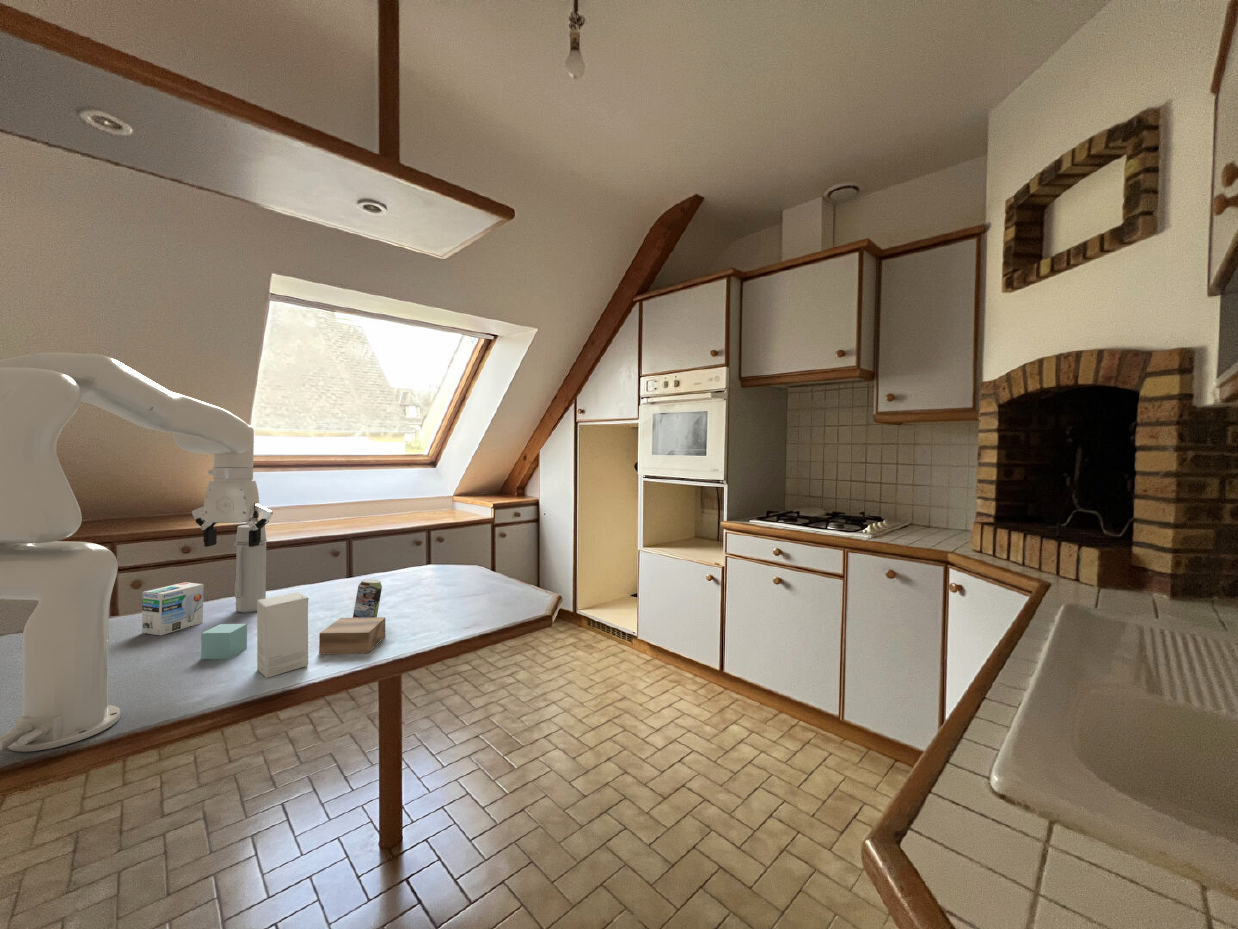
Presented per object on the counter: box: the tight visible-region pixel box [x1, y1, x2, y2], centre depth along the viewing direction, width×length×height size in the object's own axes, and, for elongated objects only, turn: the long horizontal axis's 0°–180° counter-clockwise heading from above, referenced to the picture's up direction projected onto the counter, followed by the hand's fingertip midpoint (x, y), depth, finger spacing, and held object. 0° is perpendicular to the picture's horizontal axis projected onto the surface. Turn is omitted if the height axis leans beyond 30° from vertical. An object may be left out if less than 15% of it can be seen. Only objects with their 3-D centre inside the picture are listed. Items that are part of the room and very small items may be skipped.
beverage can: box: [352, 579, 383, 618], centre depth 137 cm, size 6×7×12 cm
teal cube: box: [200, 623, 248, 660], centre depth 114 cm, size 6×6×6 cm
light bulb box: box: [141, 581, 205, 636], centre depth 129 cm, size 11×7×11 cm, turn 168°
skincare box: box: [256, 591, 309, 679], centre depth 107 cm, size 8×7×16 cm
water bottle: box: [233, 524, 268, 614], centre depth 144 cm, size 9×8×25 cm
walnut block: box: [318, 616, 386, 655], centre depth 121 cm, size 11×11×5 cm
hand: (232, 545), depth 118 cm, fingers open, 9 cm apart
